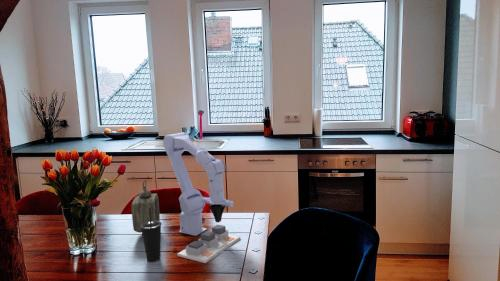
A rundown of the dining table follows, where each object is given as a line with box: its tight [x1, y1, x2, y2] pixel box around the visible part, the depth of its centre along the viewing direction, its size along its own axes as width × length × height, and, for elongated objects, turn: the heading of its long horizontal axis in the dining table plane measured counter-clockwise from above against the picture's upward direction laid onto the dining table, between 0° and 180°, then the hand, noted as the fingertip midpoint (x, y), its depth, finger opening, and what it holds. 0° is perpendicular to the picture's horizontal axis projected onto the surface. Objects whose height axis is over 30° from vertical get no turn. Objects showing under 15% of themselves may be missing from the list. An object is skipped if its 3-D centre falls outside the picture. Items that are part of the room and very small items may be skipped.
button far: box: [211, 224, 227, 234], centre depth 160 cm, size 4×4×3 cm
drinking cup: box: [140, 208, 163, 263], centre depth 144 cm, size 8×8×20 cm
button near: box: [188, 240, 204, 249], centre depth 148 cm, size 4×4×3 cm
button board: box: [177, 229, 241, 264], centre depth 154 cm, size 13×24×4 cm, turn 149°
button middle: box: [200, 230, 215, 241], centre depth 154 cm, size 4×4×3 cm
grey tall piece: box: [131, 178, 161, 238], centre depth 165 cm, size 14×9×25 cm, turn 6°
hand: (218, 221), depth 160 cm, fingers closed
